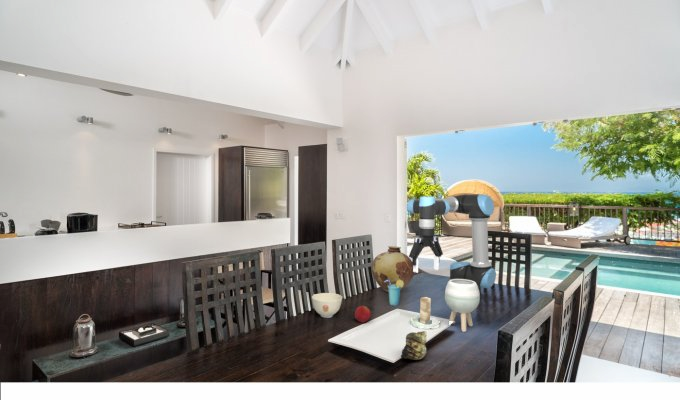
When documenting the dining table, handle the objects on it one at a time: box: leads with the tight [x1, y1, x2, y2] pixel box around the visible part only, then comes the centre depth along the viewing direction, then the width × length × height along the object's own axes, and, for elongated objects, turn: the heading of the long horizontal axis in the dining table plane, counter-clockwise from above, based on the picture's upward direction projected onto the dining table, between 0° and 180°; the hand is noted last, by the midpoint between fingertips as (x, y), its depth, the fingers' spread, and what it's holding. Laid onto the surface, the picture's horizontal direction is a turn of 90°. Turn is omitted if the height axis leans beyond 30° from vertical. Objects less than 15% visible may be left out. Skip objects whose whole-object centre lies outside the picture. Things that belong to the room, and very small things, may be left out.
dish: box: [409, 315, 441, 329], centre depth 193 cm, size 14×14×3 cm
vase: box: [371, 245, 415, 293], centre depth 254 cm, size 28×27×30 cm
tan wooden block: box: [419, 296, 432, 324], centre depth 193 cm, size 4×4×12 cm
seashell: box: [400, 330, 427, 361], centre depth 153 cm, size 11×11×10 cm
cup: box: [384, 279, 404, 306], centre depth 227 cm, size 14×8×15 cm, turn 124°
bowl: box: [311, 292, 343, 319], centre depth 204 cm, size 16×16×10 cm
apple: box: [354, 305, 372, 323], centre depth 195 cm, size 8×8×8 cm
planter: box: [444, 279, 481, 333], centre depth 189 cm, size 16×16×22 cm
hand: (426, 270), depth 193 cm, fingers open, 13 cm apart
